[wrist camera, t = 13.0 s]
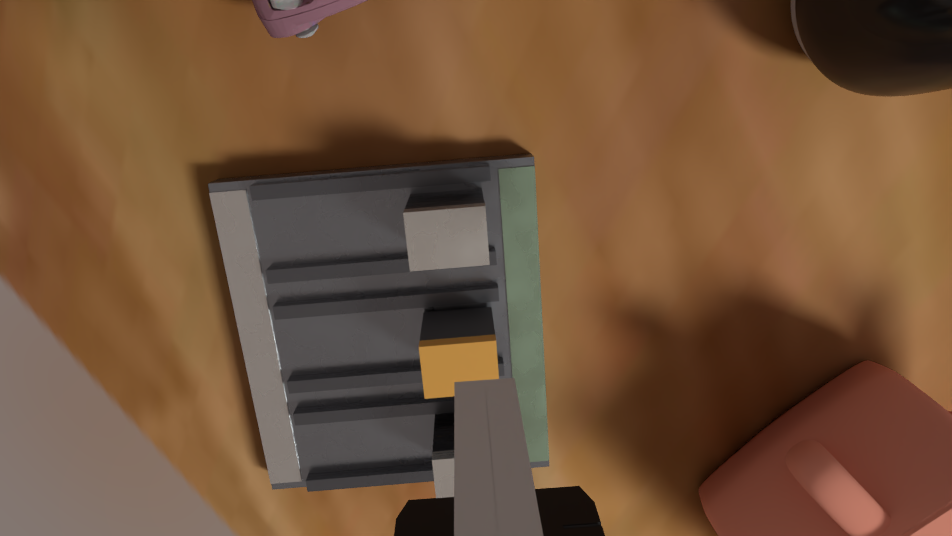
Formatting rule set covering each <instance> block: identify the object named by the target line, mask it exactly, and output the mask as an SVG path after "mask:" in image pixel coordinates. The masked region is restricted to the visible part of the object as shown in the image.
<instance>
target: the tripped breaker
mask: <svg viewBox="0 0 952 536" xmlns="http://www.w3.org/2000/svg"><path fill="white" fill-rule="evenodd" d="M419 355H420V363H421V372H422V381H423V389H424V398H425V399H429V398H441V397H453V396H454V382H463V381H477V380H491V379H499V372H498V358H497V345H496V336H495V329H494V322H493V315H492V308H491V307H483V308H471V309H459V310H447V311H435V312H424V313H423V320H422V327H421V334H420V341H419Z"/></svg>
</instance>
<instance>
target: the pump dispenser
mask: <svg viewBox="0 0 952 536" xmlns="http://www.w3.org/2000/svg"><path fill="white" fill-rule="evenodd" d="M791 18H792V24H793V28H794V32H795V35H796V37H797V40H798V42H799V44H800V46H801V48H802V49H803V51H804V52H805V54H806V55H807V57H808V58H809V59H810V60H811V61H812V62H813V64H814V65H815V66H816V67H817V69H818V70H819V71H820V72H821V73H822V74H823V75H824V76H826V77H827V78H828V79H829V80H831V81H832V82H834V83H835V84H837V85H838V86H840V87H842V88H845V89H847V90H849V91H852V92H855V93H859V94H864V95H870V96H889V97H890V96H908V95H916V94H923V93H929V92H935V91H941V90H947V89H952V0H791Z"/></svg>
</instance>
